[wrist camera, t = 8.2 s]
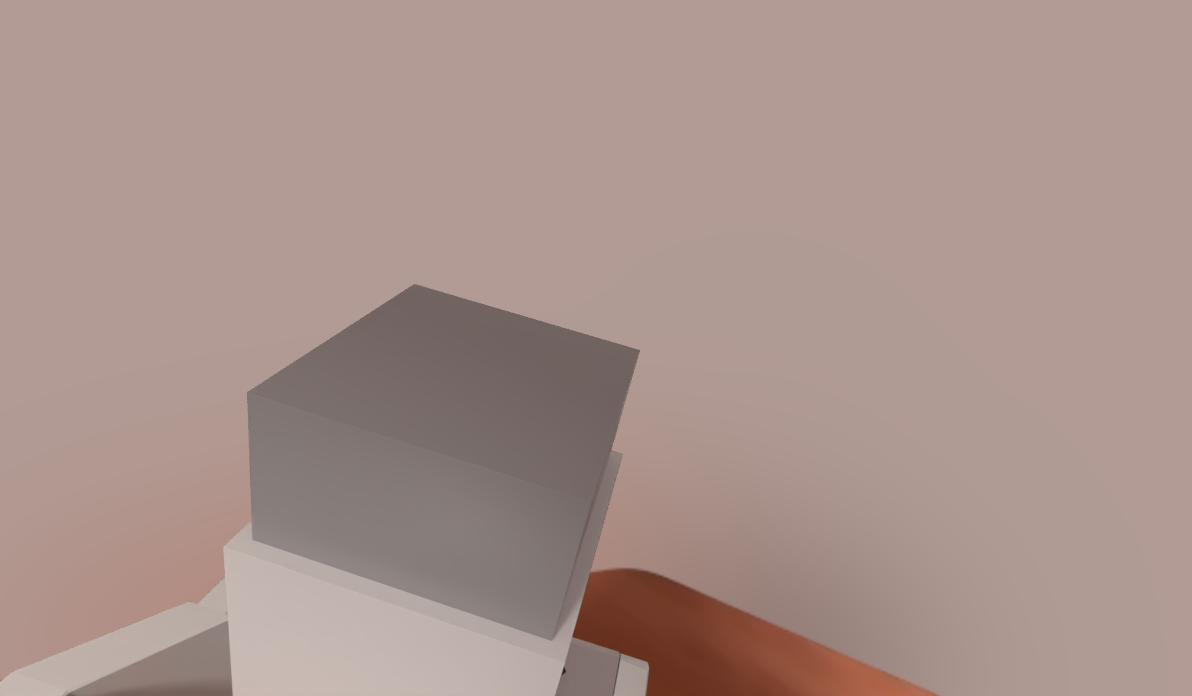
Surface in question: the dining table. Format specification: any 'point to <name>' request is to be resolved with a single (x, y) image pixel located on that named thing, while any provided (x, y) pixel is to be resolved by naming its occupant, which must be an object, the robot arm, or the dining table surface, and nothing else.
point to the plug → (424, 505)
